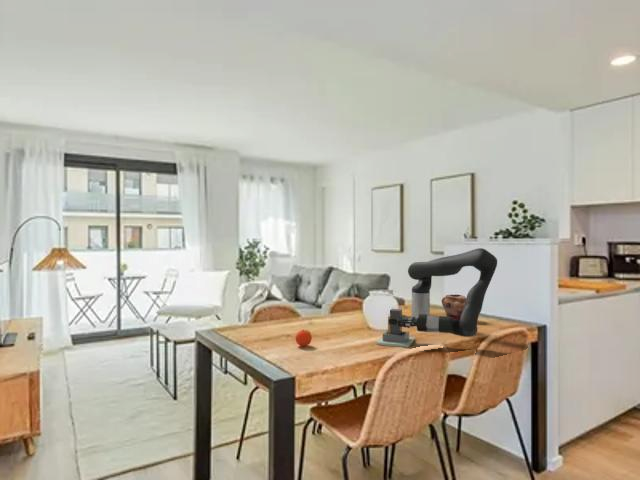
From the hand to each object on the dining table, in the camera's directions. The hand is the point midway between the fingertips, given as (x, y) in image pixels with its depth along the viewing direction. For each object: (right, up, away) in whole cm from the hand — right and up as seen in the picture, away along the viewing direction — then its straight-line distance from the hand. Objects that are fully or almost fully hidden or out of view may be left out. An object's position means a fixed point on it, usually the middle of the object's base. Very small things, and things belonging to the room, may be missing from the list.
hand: (390, 320), depth 205 cm
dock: (+2, -9, -1) cm, 10 cm away
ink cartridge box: (+8, -8, +69) cm, 70 cm away
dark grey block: (+3, -7, -1) cm, 8 cm away
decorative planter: (+44, -9, +53) cm, 69 cm away
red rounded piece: (-38, -10, -8) cm, 40 cm away
